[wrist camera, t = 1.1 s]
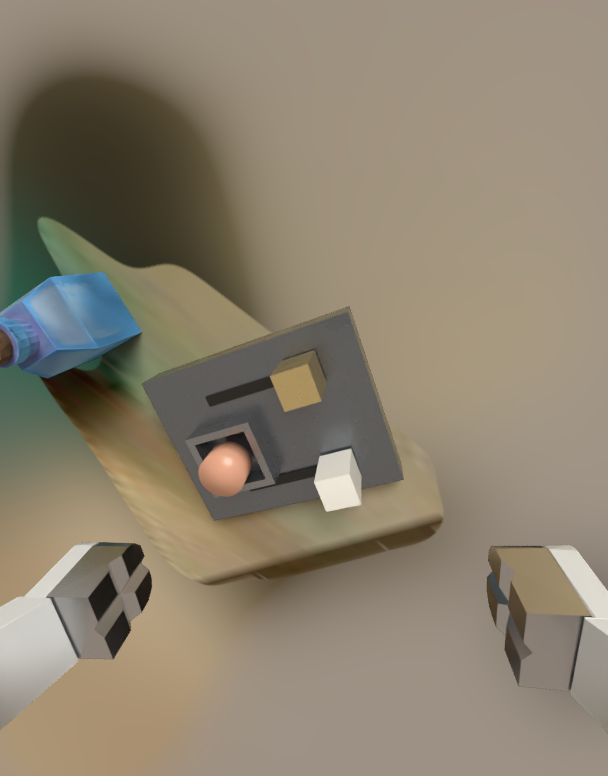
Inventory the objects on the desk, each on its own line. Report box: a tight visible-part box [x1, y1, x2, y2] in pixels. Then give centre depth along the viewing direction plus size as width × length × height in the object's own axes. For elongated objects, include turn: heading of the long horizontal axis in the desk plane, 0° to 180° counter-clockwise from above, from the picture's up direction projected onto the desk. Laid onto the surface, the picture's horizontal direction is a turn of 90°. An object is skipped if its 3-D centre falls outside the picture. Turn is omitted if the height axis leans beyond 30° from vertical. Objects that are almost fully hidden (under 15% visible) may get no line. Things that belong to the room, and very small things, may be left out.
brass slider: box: [270, 350, 327, 412], centre depth 29 cm, size 3×3×4 cm
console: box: [142, 307, 404, 521], centre depth 34 cm, size 20×16×5 cm
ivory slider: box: [314, 449, 361, 512], centre depth 31 cm, size 3×3×4 cm
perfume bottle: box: [0, 272, 142, 378], centre depth 30 cm, size 6×6×12 cm
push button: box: [198, 441, 252, 497], centre depth 32 cm, size 4×4×2 cm
